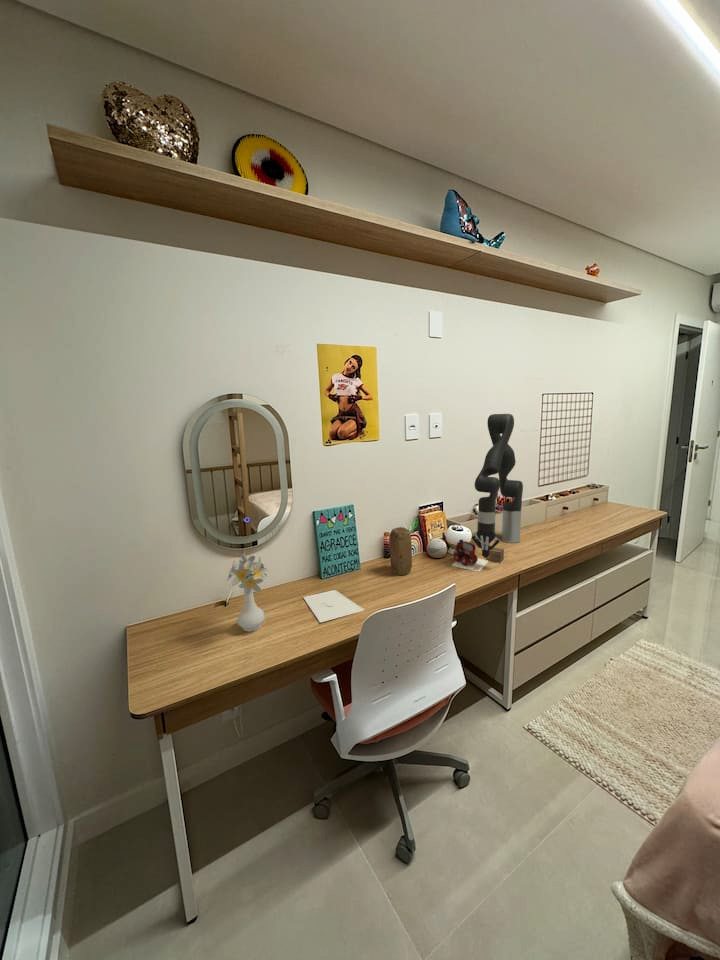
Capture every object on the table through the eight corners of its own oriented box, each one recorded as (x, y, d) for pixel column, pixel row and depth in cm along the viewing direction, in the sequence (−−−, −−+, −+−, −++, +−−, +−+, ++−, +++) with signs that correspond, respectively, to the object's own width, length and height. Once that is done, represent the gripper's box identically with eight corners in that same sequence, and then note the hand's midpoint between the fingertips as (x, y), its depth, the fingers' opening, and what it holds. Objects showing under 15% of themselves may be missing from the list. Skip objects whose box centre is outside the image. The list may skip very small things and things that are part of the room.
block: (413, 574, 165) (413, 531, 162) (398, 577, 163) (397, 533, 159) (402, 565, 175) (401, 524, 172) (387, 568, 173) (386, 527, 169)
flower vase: (244, 647, 118) (236, 574, 113) (227, 622, 132) (219, 556, 128) (282, 632, 125) (276, 562, 121) (261, 610, 140) (255, 547, 135)
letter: (462, 555, 183) (462, 555, 183) (488, 561, 176) (488, 560, 176) (451, 565, 172) (451, 565, 172) (479, 571, 165) (479, 571, 165)
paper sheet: (301, 596, 150) (301, 593, 150) (368, 584, 160) (368, 582, 160) (315, 625, 129) (315, 622, 128) (391, 610, 138) (391, 607, 138)
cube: (492, 557, 181) (492, 546, 180) (503, 559, 177) (504, 548, 176) (488, 561, 176) (488, 550, 175) (500, 563, 173) (500, 552, 172)
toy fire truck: (462, 556, 183) (462, 535, 181) (480, 564, 171) (480, 543, 170) (450, 558, 180) (450, 538, 178) (468, 568, 169) (468, 546, 167)
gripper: (503, 520, 165) (502, 557, 168) (474, 516, 173) (473, 551, 176) (499, 524, 159) (497, 562, 162) (468, 520, 167) (468, 557, 170)
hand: (485, 557), depth 169 cm, fingers closed
